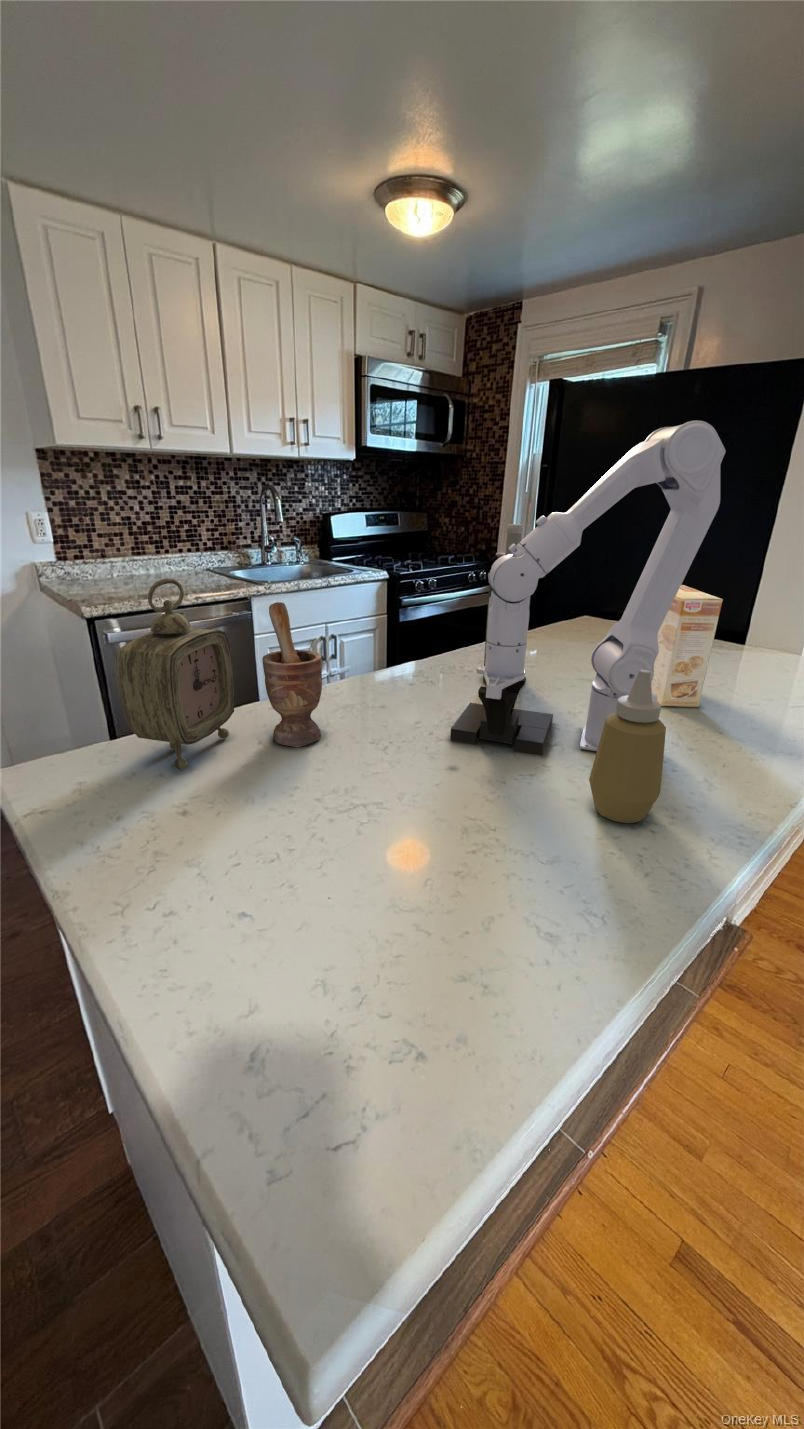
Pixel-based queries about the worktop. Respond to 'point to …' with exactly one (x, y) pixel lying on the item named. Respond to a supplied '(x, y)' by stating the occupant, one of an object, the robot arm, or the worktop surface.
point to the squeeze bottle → (630, 756)
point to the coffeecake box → (685, 647)
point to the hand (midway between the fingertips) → (499, 727)
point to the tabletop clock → (176, 680)
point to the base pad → (529, 729)
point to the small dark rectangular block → (508, 733)
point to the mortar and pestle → (292, 684)
